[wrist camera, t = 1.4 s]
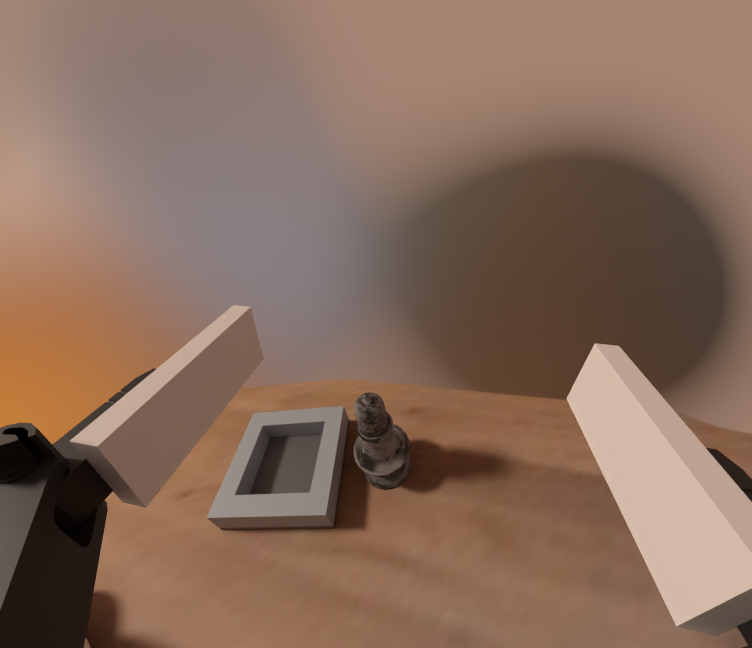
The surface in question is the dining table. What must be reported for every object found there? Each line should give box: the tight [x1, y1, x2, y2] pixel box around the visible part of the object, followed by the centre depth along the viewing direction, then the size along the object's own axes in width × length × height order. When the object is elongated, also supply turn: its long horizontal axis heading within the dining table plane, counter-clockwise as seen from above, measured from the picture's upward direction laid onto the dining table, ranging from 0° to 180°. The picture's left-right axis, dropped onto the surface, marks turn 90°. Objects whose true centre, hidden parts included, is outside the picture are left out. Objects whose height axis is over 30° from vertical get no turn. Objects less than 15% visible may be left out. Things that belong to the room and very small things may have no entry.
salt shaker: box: [354, 393, 411, 490], centre depth 29 cm, size 6×6×12 cm
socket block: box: [207, 406, 349, 530], centre depth 33 cm, size 12×12×3 cm
